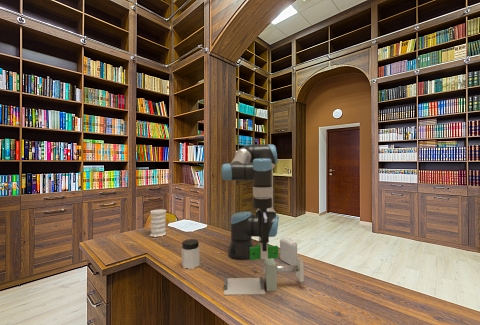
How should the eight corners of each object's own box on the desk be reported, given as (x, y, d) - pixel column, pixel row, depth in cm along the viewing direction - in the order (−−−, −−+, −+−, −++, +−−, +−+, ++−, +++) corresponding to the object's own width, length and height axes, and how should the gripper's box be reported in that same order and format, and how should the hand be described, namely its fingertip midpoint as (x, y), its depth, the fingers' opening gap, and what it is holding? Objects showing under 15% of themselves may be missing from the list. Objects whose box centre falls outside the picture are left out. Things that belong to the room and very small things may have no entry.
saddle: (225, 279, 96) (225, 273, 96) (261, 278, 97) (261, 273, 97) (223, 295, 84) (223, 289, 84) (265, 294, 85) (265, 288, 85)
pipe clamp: (275, 254, 90) (275, 243, 90) (278, 258, 86) (278, 246, 86) (248, 255, 88) (248, 244, 88) (250, 259, 85) (250, 248, 85)
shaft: (262, 275, 94) (262, 256, 94) (299, 274, 94) (299, 255, 94) (264, 282, 88) (263, 262, 88) (303, 281, 88) (303, 261, 88)
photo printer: (278, 259, 116) (278, 236, 117) (285, 257, 119) (284, 234, 119) (292, 267, 107) (292, 241, 108) (298, 265, 110) (298, 240, 110)
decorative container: (149, 239, 150) (149, 213, 151) (149, 234, 161) (149, 209, 162) (167, 237, 155) (167, 211, 155) (166, 232, 165) (166, 208, 166)
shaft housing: (264, 281, 94) (264, 258, 94) (273, 281, 94) (273, 258, 94) (266, 290, 87) (266, 265, 87) (276, 290, 87) (276, 265, 87)
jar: (200, 262, 114) (200, 238, 114) (197, 269, 106) (197, 244, 106) (183, 262, 114) (183, 239, 114) (179, 269, 106) (179, 244, 106)
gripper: (276, 200, 79) (277, 265, 79) (267, 193, 96) (268, 247, 96) (256, 201, 78) (256, 266, 78) (250, 194, 95) (251, 248, 95)
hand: (263, 255), depth 87 cm, fingers closed on pipe clamp, 4 cm apart
